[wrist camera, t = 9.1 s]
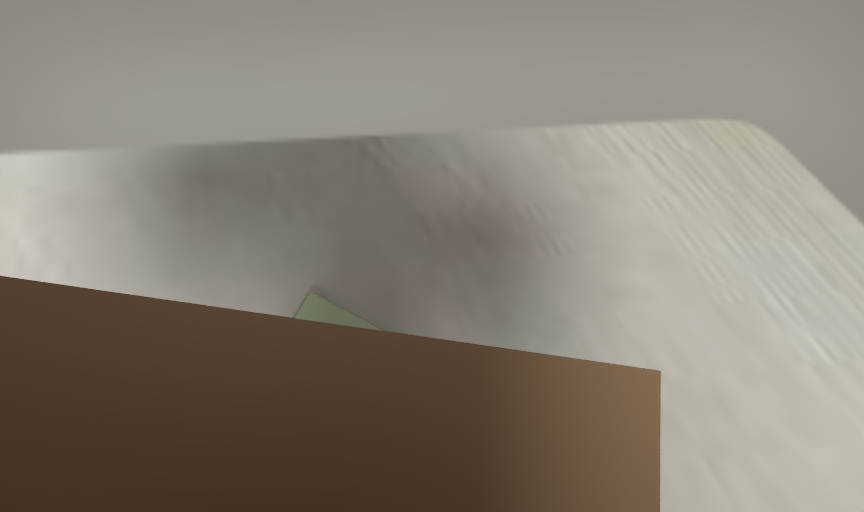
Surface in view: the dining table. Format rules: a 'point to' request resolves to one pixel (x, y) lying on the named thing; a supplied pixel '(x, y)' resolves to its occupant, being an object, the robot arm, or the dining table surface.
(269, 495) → the walnut block
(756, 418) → the dining table surface
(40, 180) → the dining table surface
